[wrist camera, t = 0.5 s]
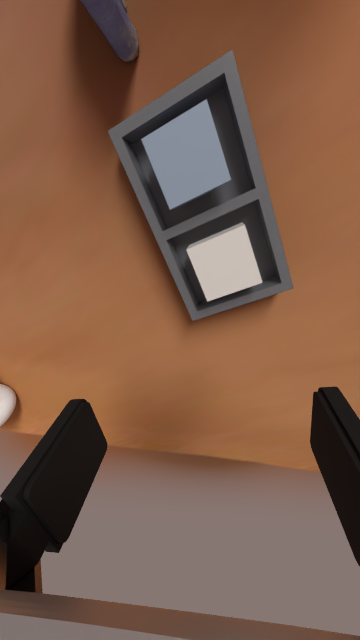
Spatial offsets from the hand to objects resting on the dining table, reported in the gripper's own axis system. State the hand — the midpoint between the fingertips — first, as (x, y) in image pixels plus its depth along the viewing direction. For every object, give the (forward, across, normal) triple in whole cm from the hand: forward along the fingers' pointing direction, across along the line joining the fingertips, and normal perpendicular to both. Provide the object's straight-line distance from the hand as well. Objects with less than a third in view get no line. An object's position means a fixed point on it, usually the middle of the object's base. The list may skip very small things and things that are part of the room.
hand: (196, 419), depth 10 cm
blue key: (+20, 0, -12) cm, 24 cm away
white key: (+20, -2, -2) cm, 21 cm away
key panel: (+23, -1, -7) cm, 24 cm away
